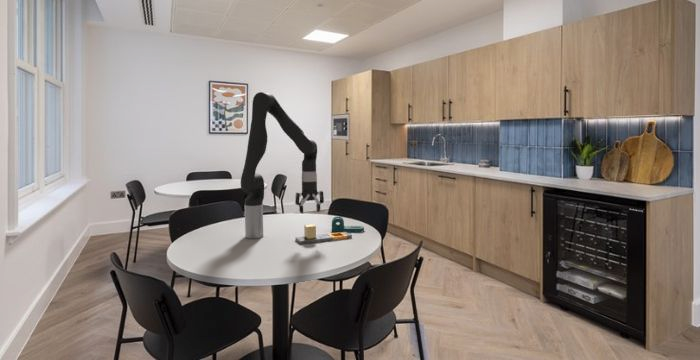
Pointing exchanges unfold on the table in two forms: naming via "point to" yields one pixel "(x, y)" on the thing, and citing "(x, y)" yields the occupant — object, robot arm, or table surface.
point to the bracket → (343, 228)
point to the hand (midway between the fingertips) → (309, 212)
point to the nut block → (310, 232)
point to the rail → (324, 238)
